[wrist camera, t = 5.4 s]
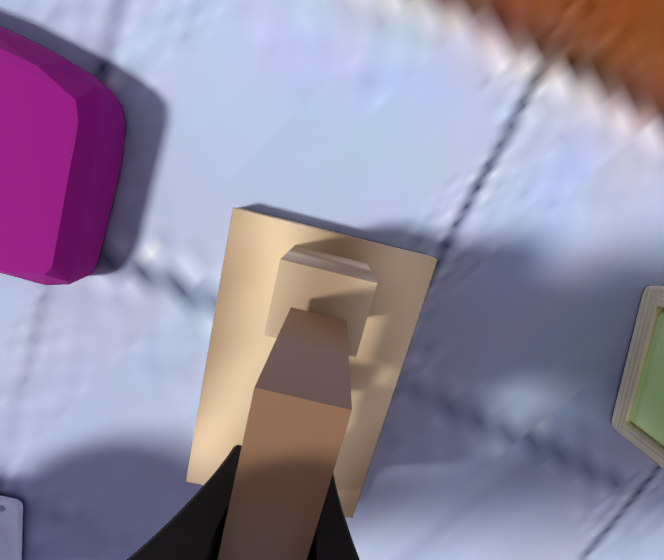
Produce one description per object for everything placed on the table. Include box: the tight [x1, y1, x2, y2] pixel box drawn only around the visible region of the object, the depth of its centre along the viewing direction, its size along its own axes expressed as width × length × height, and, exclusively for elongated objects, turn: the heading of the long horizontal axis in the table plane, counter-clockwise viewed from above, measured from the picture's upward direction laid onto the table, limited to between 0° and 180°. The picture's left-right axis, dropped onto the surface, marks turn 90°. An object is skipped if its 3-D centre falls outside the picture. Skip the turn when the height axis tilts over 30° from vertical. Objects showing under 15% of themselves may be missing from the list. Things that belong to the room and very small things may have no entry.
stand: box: [186, 208, 437, 518], centre depth 16 cm, size 10×16×5 cm, turn 166°
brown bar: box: [217, 307, 352, 560], centre depth 10 cm, size 2×12×5 cm, turn 166°
